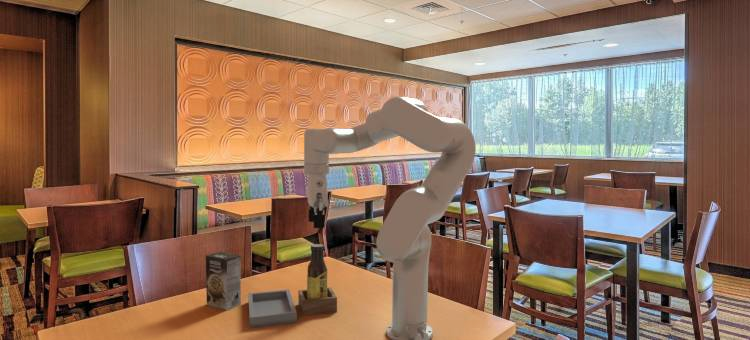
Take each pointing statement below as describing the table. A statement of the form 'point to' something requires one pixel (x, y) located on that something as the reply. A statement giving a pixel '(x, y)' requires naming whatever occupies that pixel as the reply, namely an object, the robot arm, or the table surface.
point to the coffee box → (223, 280)
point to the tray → (271, 308)
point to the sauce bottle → (317, 274)
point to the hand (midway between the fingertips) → (316, 224)
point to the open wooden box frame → (317, 303)
